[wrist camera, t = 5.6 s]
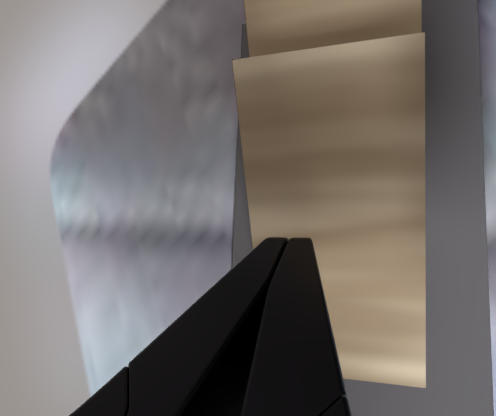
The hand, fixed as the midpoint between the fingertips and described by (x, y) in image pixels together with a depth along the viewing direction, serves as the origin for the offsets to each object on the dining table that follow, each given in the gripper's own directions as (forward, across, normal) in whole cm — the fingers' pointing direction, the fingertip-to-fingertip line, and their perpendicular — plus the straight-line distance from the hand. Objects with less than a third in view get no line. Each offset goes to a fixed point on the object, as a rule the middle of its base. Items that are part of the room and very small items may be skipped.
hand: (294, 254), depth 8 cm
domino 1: (+3, 0, +8) cm, 8 cm away
